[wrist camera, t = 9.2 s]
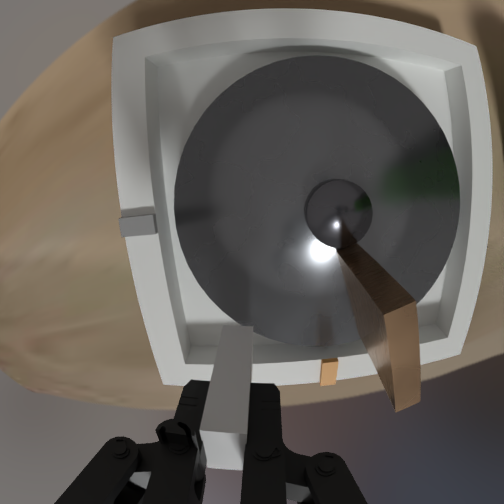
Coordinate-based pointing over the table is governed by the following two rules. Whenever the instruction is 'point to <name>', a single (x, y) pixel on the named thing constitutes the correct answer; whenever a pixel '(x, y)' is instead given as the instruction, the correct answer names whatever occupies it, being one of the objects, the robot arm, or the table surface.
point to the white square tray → (194, 105)
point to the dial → (321, 209)
